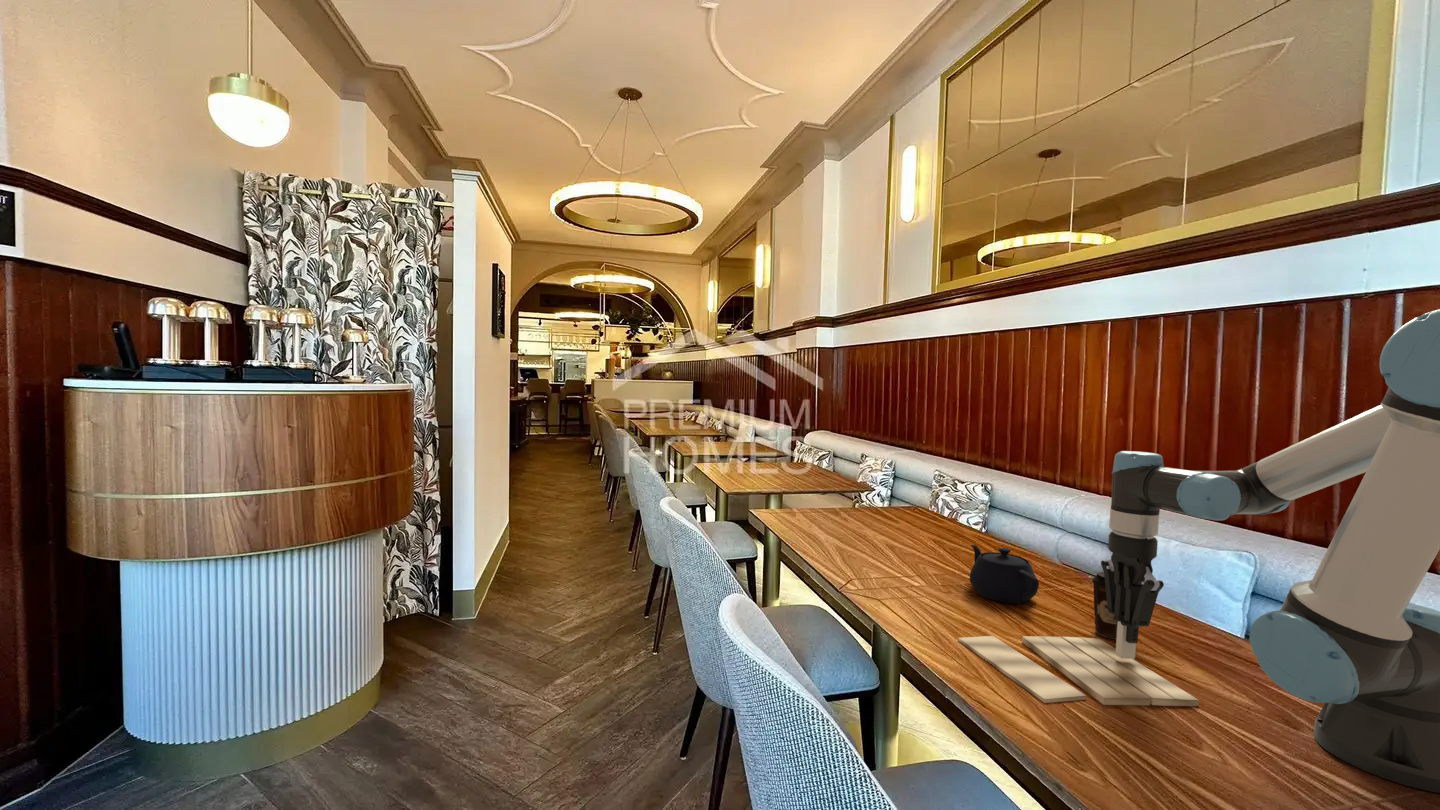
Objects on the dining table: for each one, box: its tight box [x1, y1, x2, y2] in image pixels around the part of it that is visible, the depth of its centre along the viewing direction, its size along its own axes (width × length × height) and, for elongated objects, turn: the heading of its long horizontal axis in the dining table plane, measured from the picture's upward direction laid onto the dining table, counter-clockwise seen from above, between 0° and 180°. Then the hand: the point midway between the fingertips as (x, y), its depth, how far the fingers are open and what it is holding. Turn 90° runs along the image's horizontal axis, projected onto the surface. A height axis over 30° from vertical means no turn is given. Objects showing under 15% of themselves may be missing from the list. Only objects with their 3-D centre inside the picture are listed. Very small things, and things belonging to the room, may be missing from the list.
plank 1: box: [958, 635, 1087, 704], centre depth 110 cm, size 24×8×1 cm, turn 12°
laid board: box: [1021, 635, 1151, 706], centre depth 109 cm, size 24×8×1 cm, turn 3°
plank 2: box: [1061, 636, 1200, 707], centre depth 109 cm, size 24×8×1 cm, turn 3°
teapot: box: [969, 544, 1040, 604], centre depth 149 cm, size 25×16×12 cm, turn 11°
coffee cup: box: [1091, 571, 1117, 640], centre depth 126 cm, size 9×8×13 cm
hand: (1125, 656), depth 111 cm, fingers closed
